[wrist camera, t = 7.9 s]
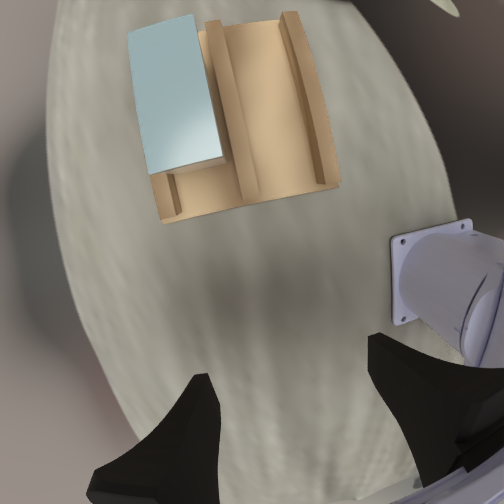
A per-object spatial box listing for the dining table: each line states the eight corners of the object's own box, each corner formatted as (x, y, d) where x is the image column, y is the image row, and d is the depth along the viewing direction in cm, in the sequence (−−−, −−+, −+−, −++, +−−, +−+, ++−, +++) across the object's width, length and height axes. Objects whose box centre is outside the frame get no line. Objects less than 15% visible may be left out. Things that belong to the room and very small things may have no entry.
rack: (294, 24, 16) (302, 5, 13) (334, 186, 19) (349, 188, 17) (135, 56, 16) (121, 41, 13) (166, 222, 19) (154, 230, 17)
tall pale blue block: (207, 65, 16) (193, 13, 9) (227, 164, 18) (222, 155, 11) (162, 77, 16) (127, 33, 9) (180, 175, 18) (148, 174, 11)
